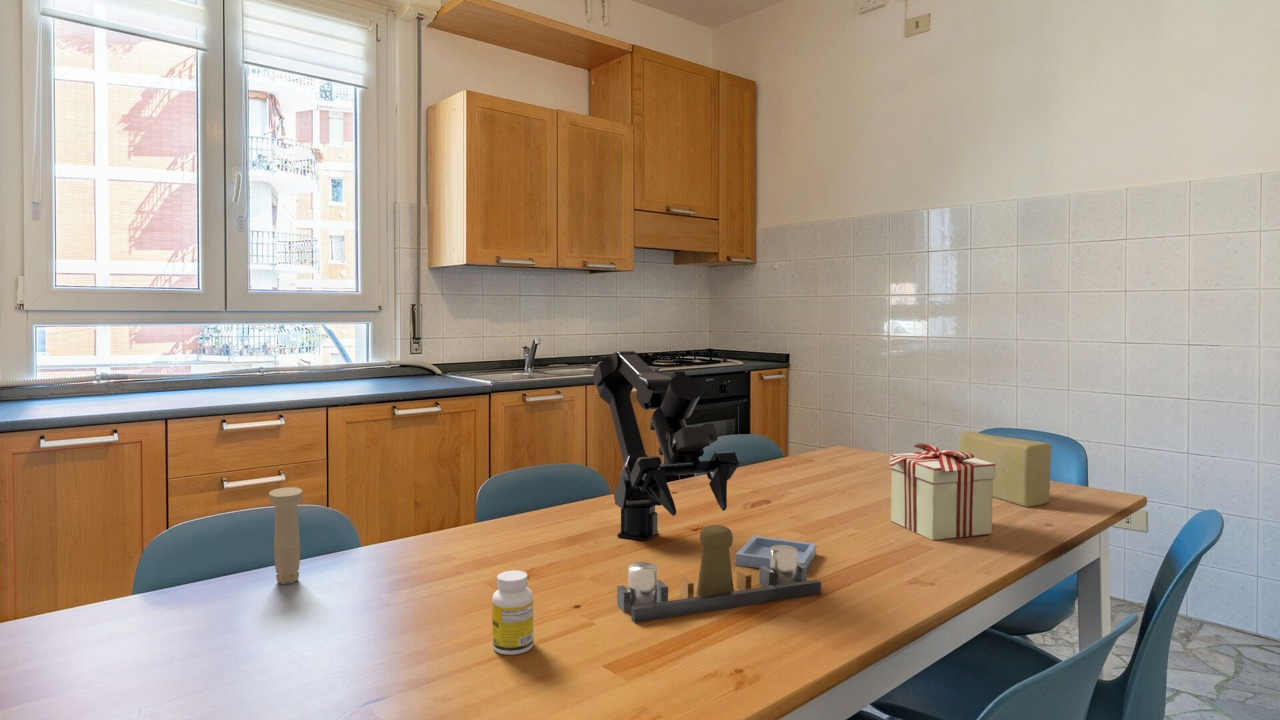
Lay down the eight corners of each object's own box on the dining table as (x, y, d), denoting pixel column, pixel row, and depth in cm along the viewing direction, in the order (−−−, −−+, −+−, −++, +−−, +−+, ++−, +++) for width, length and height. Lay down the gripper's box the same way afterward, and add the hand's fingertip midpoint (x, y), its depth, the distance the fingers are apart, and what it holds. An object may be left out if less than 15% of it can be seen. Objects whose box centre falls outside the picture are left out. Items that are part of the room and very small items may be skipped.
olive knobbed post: (733, 603, 115) (734, 533, 114) (694, 600, 116) (695, 531, 115) (735, 589, 121) (737, 522, 120) (698, 586, 122) (699, 520, 121)
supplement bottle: (494, 638, 102) (494, 568, 101) (534, 637, 102) (534, 567, 101) (490, 657, 96) (489, 583, 96) (532, 655, 97) (532, 582, 96)
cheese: (945, 489, 192) (947, 431, 191) (969, 484, 197) (971, 428, 196) (1026, 508, 173) (1029, 445, 172) (1051, 503, 178) (1053, 441, 177)
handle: (271, 590, 118) (269, 497, 118) (271, 577, 124) (268, 489, 123) (305, 585, 121) (303, 494, 120) (302, 573, 126) (300, 486, 125)
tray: (735, 564, 132) (735, 553, 132) (753, 545, 143) (753, 535, 143) (803, 574, 128) (803, 563, 127) (816, 554, 139) (816, 543, 138)
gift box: (873, 523, 160) (875, 443, 159) (941, 515, 167) (943, 439, 165) (930, 546, 144) (933, 458, 143) (1002, 537, 151) (1006, 453, 150)
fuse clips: (615, 603, 114) (615, 565, 114) (794, 577, 126) (794, 542, 126) (633, 623, 107) (634, 582, 107) (821, 593, 119) (822, 557, 119)
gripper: (636, 409, 123) (662, 489, 114) (735, 405, 130) (767, 480, 121) (620, 448, 131) (642, 526, 122) (714, 443, 138) (742, 516, 128)
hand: (700, 511), depth 123 cm, fingers open, 9 cm apart
